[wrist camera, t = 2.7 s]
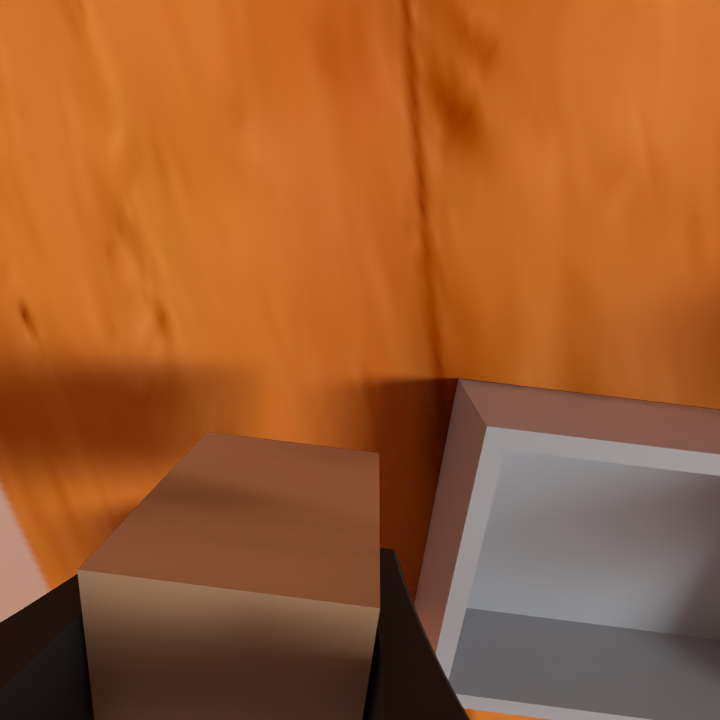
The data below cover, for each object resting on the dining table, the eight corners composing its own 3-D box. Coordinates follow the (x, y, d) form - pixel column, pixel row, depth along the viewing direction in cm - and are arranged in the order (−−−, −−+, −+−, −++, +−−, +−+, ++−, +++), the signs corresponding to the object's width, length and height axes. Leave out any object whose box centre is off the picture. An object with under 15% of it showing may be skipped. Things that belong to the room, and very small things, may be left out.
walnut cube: (360, 590, 12) (348, 803, 8) (207, 570, 13) (100, 770, 8) (379, 453, 11) (379, 608, 6) (207, 432, 11) (78, 569, 6)
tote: (726, 642, 22) (824, 755, 17) (414, 603, 22) (424, 702, 17) (838, 423, 18) (1007, 489, 13) (458, 378, 18) (486, 426, 13)
